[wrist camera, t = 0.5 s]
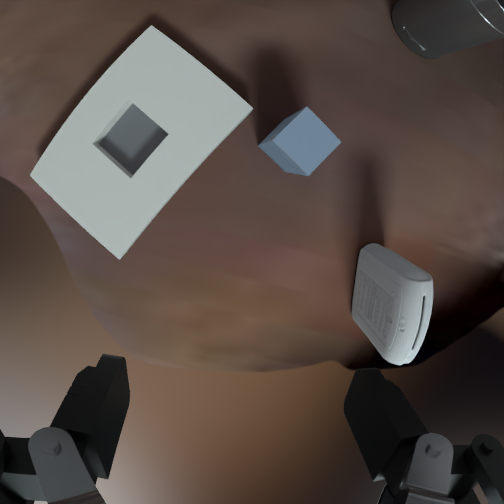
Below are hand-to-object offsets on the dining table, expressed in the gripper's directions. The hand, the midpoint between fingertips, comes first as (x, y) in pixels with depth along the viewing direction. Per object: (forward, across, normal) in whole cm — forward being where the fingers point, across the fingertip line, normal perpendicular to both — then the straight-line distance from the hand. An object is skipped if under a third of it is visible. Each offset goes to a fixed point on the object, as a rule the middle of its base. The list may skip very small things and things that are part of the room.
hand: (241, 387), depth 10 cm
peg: (+26, -5, -9) cm, 28 cm away
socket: (+25, +11, -8) cm, 29 cm away
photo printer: (+26, -18, +6) cm, 32 cm away
